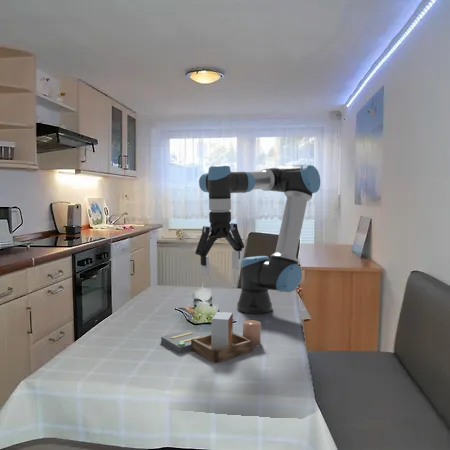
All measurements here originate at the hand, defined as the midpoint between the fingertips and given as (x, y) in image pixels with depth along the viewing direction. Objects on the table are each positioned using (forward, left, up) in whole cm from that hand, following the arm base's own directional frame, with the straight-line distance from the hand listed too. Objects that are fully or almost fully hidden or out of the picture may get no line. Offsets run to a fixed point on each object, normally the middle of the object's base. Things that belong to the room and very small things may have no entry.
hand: (221, 271), depth 142 cm
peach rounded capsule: (-4, +11, -23) cm, 26 cm away
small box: (+7, +10, -22) cm, 26 cm away
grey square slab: (+14, -2, -23) cm, 27 cm away
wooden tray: (+8, +10, -23) cm, 26 cm away
